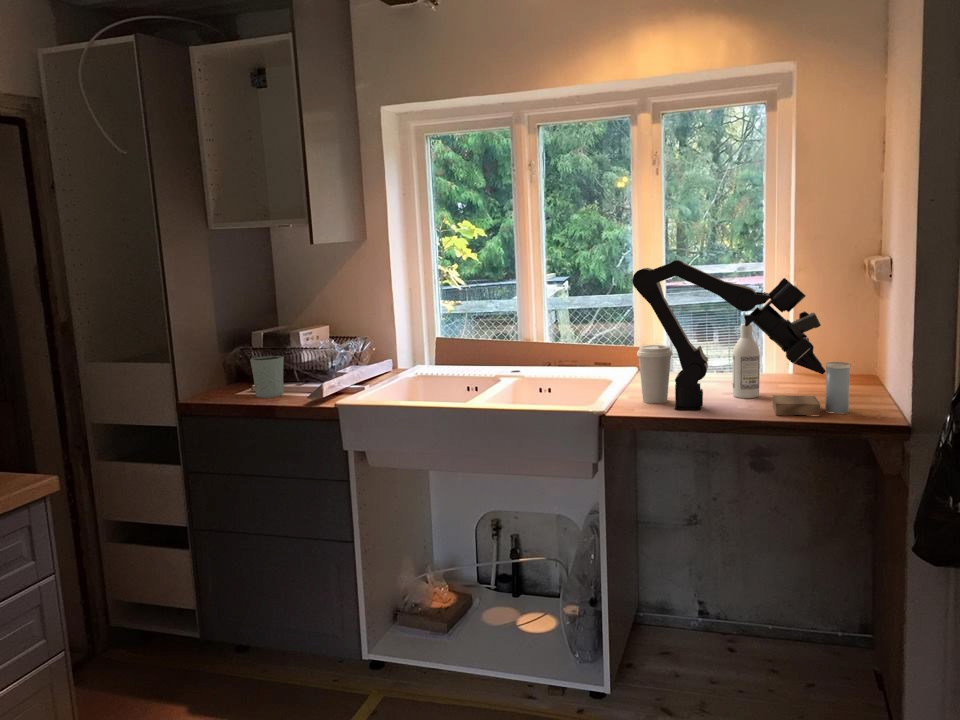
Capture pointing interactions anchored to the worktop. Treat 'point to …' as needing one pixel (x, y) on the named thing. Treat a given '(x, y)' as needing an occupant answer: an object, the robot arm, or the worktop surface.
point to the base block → (796, 405)
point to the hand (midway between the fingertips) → (822, 369)
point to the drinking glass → (268, 376)
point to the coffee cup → (654, 372)
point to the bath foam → (746, 365)
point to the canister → (837, 387)
